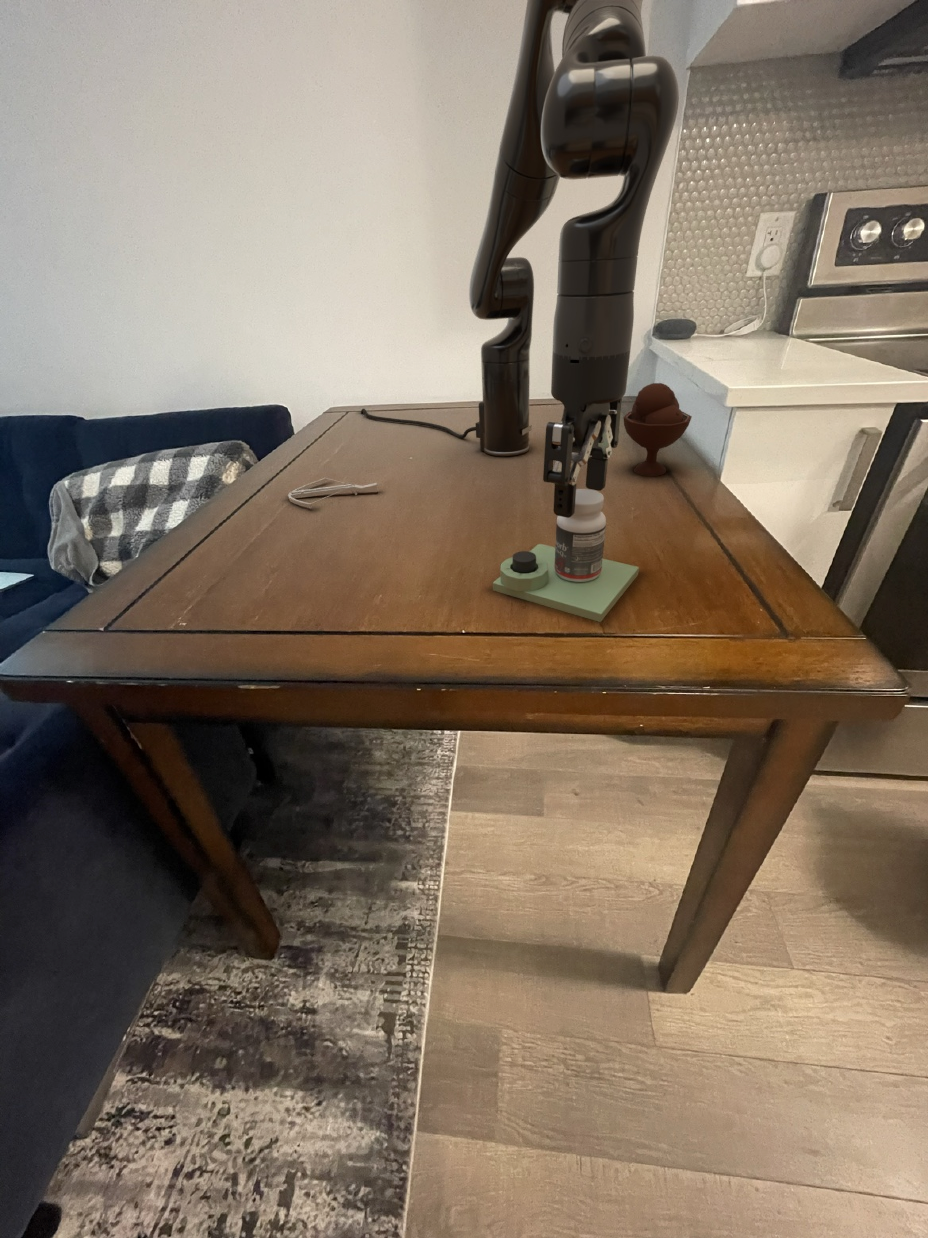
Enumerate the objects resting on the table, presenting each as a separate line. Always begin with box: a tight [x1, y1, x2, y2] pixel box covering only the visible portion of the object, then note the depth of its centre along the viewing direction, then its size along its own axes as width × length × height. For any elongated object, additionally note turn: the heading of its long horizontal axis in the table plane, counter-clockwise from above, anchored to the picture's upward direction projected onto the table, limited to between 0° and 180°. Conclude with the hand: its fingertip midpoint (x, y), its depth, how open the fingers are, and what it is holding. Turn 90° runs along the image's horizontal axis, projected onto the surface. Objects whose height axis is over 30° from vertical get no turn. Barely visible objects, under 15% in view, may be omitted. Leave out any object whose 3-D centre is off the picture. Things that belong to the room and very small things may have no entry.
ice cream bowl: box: [623, 382, 693, 477], centre depth 94 cm, size 11×11×15 cm
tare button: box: [512, 550, 536, 574], centre depth 65 cm, size 3×3×2 cm
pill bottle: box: [554, 488, 607, 582], centre depth 64 cm, size 6×6×10 cm
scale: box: [492, 543, 640, 623], centre depth 66 cm, size 14×12×3 cm
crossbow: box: [287, 477, 380, 509], centre depth 96 cm, size 16×13×2 cm
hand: (580, 501), depth 63 cm, fingers open, 8 cm apart
